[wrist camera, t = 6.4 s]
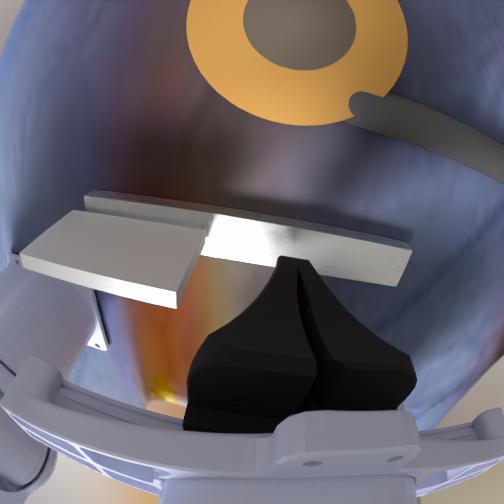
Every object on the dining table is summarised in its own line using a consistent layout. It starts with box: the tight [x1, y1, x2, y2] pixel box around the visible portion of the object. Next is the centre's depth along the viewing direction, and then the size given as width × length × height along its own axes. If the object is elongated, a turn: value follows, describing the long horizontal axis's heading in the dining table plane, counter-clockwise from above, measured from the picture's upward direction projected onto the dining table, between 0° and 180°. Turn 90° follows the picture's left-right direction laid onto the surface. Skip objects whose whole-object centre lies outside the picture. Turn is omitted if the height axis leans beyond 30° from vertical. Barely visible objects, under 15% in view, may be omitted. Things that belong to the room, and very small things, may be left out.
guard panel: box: [19, 210, 206, 309], centre depth 12 cm, size 8×1×5 cm, turn 82°
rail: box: [84, 190, 412, 287], centre depth 15 cm, size 18×2×1 cm, turn 82°
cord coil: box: [186, 0, 408, 126], centre depth 9 cm, size 9×9×2 cm
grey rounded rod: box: [343, 91, 504, 184], centre depth 11 cm, size 14×2×2 cm, turn 82°
